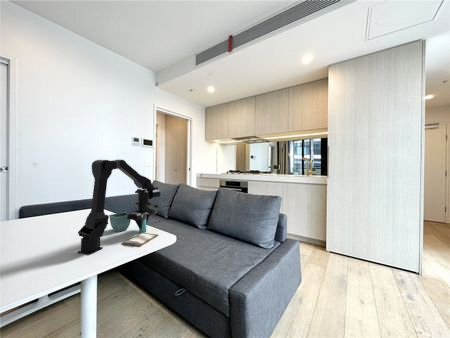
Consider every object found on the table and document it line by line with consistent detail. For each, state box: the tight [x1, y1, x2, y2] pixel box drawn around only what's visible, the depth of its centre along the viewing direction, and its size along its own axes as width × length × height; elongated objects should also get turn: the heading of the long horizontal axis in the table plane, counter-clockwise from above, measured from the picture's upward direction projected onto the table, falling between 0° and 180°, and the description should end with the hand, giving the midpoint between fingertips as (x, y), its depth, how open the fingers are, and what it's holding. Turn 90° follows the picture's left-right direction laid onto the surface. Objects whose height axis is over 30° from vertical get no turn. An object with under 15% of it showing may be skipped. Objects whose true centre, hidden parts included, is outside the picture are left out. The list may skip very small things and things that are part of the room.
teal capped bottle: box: [138, 215, 147, 234], centre depth 107 cm, size 4×4×9 cm
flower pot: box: [108, 211, 132, 233], centre depth 109 cm, size 9×9×9 cm
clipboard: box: [121, 232, 159, 247], centre depth 96 cm, size 15×10×1 cm, turn 168°
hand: (142, 228), depth 107 cm, fingers closed on teal capped bottle, 4 cm apart
